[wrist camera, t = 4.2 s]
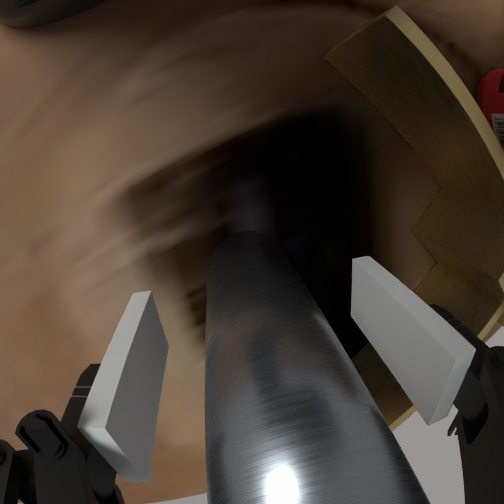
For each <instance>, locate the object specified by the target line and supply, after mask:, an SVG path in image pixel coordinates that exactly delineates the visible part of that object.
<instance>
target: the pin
mask: <svg viewBox="0 0 504 504" xmlns="http://www.w3.org/2000/svg"><path fill="white" fill-rule="evenodd" d="M205 441H206V476H207V499H208V504H430V502H429V500H428V498H427V496H426V494H425V492H424V490H423V488H422V486H421V484H420V483H419V481H418V479H417V477H416V475H415V474H414V471H413V470H412V468H411V466H410V464H409V462H408V460H407V458H406V457H405V455H404V453H403V451H402V449H401V447H400V446H399V444H398V442H397V440H396V438H395V437H394V435H393V433H392V431H391V429H390V428H389V426H388V424H387V422H386V421H385V419H384V417H383V415H382V413H381V412H380V410H379V408H378V406H377V405H376V403H375V401H374V399H373V398H372V396H371V394H370V392H369V391H368V389H367V387H366V386H365V384H364V382H363V380H362V379H361V377H360V375H359V373H358V372H357V370H356V368H355V367H354V365H353V363H352V362H351V360H350V358H349V356H348V355H347V353H346V351H345V350H344V348H343V346H342V345H341V343H340V341H339V340H338V338H337V336H336V335H335V333H334V331H333V330H332V328H331V326H330V325H329V323H328V321H327V320H326V318H325V316H324V315H323V313H322V311H321V310H320V308H319V307H318V305H317V303H316V302H315V300H314V298H313V297H312V295H311V294H310V292H309V290H308V289H307V287H306V285H305V284H304V282H303V281H302V279H301V277H300V276H299V274H298V273H297V271H296V269H295V268H294V266H293V265H292V263H291V261H290V260H289V258H288V257H287V255H286V253H285V252H284V250H283V249H282V247H281V246H280V245H279V243H278V242H277V241H276V240H274V239H273V238H272V237H270V236H268V235H266V234H264V233H260V232H255V231H243V232H238V233H235V234H232V235H230V236H228V237H227V238H225V239H224V240H222V241H221V242H220V243H219V244H218V245H217V246H216V248H215V249H214V251H213V252H212V254H211V256H210V260H209V264H208V281H207V307H206V346H205Z"/></svg>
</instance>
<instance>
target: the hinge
mask: <svg viewBox="0 0 504 504" xmlns="http://www.w3.org/2000/svg"><path fill="white" fill-rule="evenodd" d="M323 58H324V59H325V60H326V61H327V62H329V63H330V64H331V65H332V66H333V67H334V68H335V69H337V70H338V71H339V72H340V73H341V74H342V75H343V76H344V77H345V78H346V79H348V80H349V81H350V82H351V83H352V84H353V85H354V86H355V87H356V88H357V89H358V90H359V91H360V92H361V93H362V94H363V95H364V96H365V97H366V98H367V99H368V100H369V101H370V102H371V103H372V104H373V105H374V106H375V107H376V108H377V109H378V110H379V111H380V112H381V113H382V114H383V115H384V117H385V118H386V119H387V120H388V121H389V122H390V123H391V124H392V125H393V126H394V128H395V129H396V130H397V131H398V132H399V133H400V134H401V136H402V137H403V138H404V139H405V140H406V142H407V143H408V144H409V145H410V146H411V148H412V149H413V150H414V151H415V152H416V154H417V155H418V156H419V158H420V159H421V160H422V161H423V163H424V164H425V165H426V167H427V168H428V169H429V171H430V172H431V173H432V175H433V176H434V177H435V179H436V180H437V181H438V183H439V184H440V186H441V187H442V189H441V190H440V192H439V193H438V195H437V196H436V198H435V199H434V200H433V202H432V203H431V205H430V206H429V208H428V209H427V210H426V212H425V213H424V215H423V216H422V217H421V219H420V220H419V222H418V223H417V224H416V226H415V227H414V228H413V230H412V232H413V233H414V234H415V235H416V236H417V237H418V239H419V240H420V241H421V242H422V244H423V245H424V246H425V247H426V248H427V250H428V251H429V252H430V253H431V255H432V256H433V257H434V258H435V260H436V261H437V262H436V264H435V265H434V266H433V268H432V269H431V270H430V272H429V273H428V274H427V276H426V277H425V278H424V279H423V281H422V282H421V283H420V284H419V286H418V287H417V288H416V289H415V291H414V292H413V293H415V294H416V295H417V296H418V297H419V298H420V299H422V300H423V301H424V302H425V303H426V304H427V305H431V304H435V305H438V306H440V307H442V308H444V309H446V310H447V311H449V312H450V313H451V314H452V315H453V316H455V319H458V320H459V321H460V322H461V323H463V326H464V325H465V326H466V327H467V328H468V329H469V330H470V331H472V332H473V333H474V334H475V335H476V336H477V337H478V338H479V339H480V340H483V339H484V337H485V336H486V335H487V334H488V332H489V331H490V330H491V328H492V327H493V326H494V324H495V323H496V322H497V321H498V322H499V323H500V324H502V325H503V326H504V145H500V144H499V142H498V140H497V138H496V136H495V134H494V132H493V130H492V129H491V127H490V125H489V123H488V121H487V120H486V118H485V116H484V115H483V113H482V111H481V110H480V108H479V106H478V105H477V103H476V102H475V100H474V98H473V97H472V95H471V94H470V92H469V91H468V89H467V88H466V86H465V85H464V83H463V82H462V81H461V79H460V78H459V76H458V75H457V74H456V72H455V71H454V70H453V68H452V67H451V66H450V64H449V63H448V62H447V60H446V59H445V58H444V57H443V55H442V54H441V53H440V52H439V50H438V49H437V48H436V47H435V46H434V44H433V43H432V42H431V41H430V40H429V39H428V37H427V36H426V35H425V34H424V33H423V32H422V31H421V30H420V28H419V27H418V26H417V25H416V24H415V23H414V22H413V21H412V20H411V19H410V18H409V17H408V16H407V15H406V14H405V13H404V12H403V11H402V10H401V9H400V8H399V7H398V6H397V5H395V6H393V7H392V8H390V9H389V10H387V11H385V12H384V13H382V14H381V15H379V16H378V17H376V18H375V19H373V20H371V21H370V22H368V23H367V24H365V25H364V26H362V27H361V28H360V29H358V30H357V31H355V32H354V33H352V34H351V35H349V36H348V37H347V38H345V39H344V40H342V41H341V42H340V43H338V44H337V45H336V46H334V47H333V48H332V49H331V50H330V51H329V52H328V53H327V54H326V55H325V56H324V57H323ZM351 362H352V363H353V365H354V367H355V368H356V370H357V372H358V373H359V375H360V377H361V379H362V380H363V382H364V384H365V386H366V387H367V389H368V391H369V392H370V394H371V396H372V398H373V399H374V401H375V403H376V405H377V406H378V408H379V410H380V412H381V413H382V415H383V417H384V419H385V421H386V422H387V424H388V426H389V428H390V429H391V431H393V430H394V429H395V428H397V427H398V426H399V425H400V424H401V423H403V422H404V421H405V420H406V419H407V418H409V417H410V416H411V415H412V414H413V413H414V412H415V411H416V410H417V409H416V407H415V406H414V404H413V403H412V402H411V400H410V399H409V397H408V396H407V394H406V393H405V391H404V390H403V388H402V387H401V385H400V384H399V383H398V381H397V380H396V378H395V377H394V375H393V374H392V373H391V371H390V370H389V368H388V367H387V365H386V364H385V363H384V361H383V360H382V358H381V357H380V356H379V354H378V353H377V351H376V350H375V349H374V347H373V346H372V344H371V343H370V342H369V343H368V344H367V345H366V346H365V347H364V348H363V349H362V350H361V351H360V352H359V353H358V354H357V355H356V356H355V357H354V358H353V359H352V360H351Z"/></svg>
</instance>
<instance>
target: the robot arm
mask: <svg viewBox="0 0 504 504" xmlns="http://www.w3.org/2000/svg"><path fill="white" fill-rule="evenodd" d="M101 1H103V0H0V23H1V24H4V25H7V26H10V27H31V26H37V25H42V24H46V23H50V22H53V21H56V20H59V19H62V18H65V17H68V16H70V15H73V14H75V13H78V12H80V11H82V10H84V9H87V8H89V7H91V6H93V5H95V4H97V3H99V2H101ZM351 317H352V318H353V320H354V321H355V322H356V324H357V325H358V326H359V328H360V329H361V331H362V332H363V333H364V335H365V336H366V337H367V339H368V340H369V342H370V343H371V344H372V346H373V347H374V349H375V350H376V351H377V353H378V354H379V356H380V357H381V358H382V360H383V361H384V363H385V364H386V365H387V367H388V368H389V370H390V371H391V373H392V374H393V375H394V377H395V378H396V380H397V381H398V383H399V384H400V385H401V387H402V388H403V390H404V391H405V393H406V394H407V396H408V397H409V399H410V400H411V402H412V403H413V404H414V406H415V407H416V409H417V410H418V412H419V413H420V414H421V416H422V418H423V419H424V421H425V422H426V424H427V425H431V424H433V423H435V422H437V421H439V420H441V419H443V418H445V417H446V416H447V415H448V413H449V411H450V409H451V407H452V405H453V404H454V405H455V407H456V408H457V409H458V413H457V415H456V417H455V418H454V420H453V422H452V424H451V426H450V427H449V429H448V436H451V434H452V432H453V431H454V429H455V427H456V428H457V430H456V432H455V435H458V440H459V446H460V454H461V460H462V469H463V479H464V491H465V504H504V347H503V346H495V347H491V348H489V347H488V346H487V345H486V344H485V343H484V342H483V341H482V340H480V339H479V338H478V337H477V336H476V335H475V334H474V333H473V332H472V331H470V330H469V329H468V328H467V327H466V326H465V325H464V326H463V323H461V322H460V321H459V320H458V319H455V316H453V315H452V314H451V313H450V312H449V311H447V310H446V309H444V308H442V307H440V306H438V305H435V304H431V305H427V304H426V303H425V302H424V301H423V300H422V299H420V298H419V297H418V296H417V295H416V294H415V293H413V292H412V291H411V290H410V289H409V288H408V287H406V286H405V285H404V284H403V283H402V282H400V281H399V280H398V279H397V278H396V277H394V276H393V275H392V274H391V273H390V272H388V271H387V270H386V269H385V268H383V267H382V266H381V265H380V264H378V263H377V262H376V261H375V260H373V259H372V258H371V257H370V256H365V257H359V258H354V259H352V298H351ZM168 348H169V346H168V343H167V340H166V337H165V334H164V331H163V328H162V325H161V322H160V318H159V315H158V312H157V309H156V305H155V302H154V299H153V295H152V292H151V291H145V292H138V293H133V295H132V297H131V299H130V301H129V303H128V305H127V307H126V309H125V311H124V314H123V316H122V318H121V320H120V322H119V324H118V327H117V329H116V331H115V333H114V335H113V338H112V340H111V342H110V344H109V347H108V349H107V351H106V354H105V356H104V358H103V361H102V363H101V364H90V365H89V366H88V368H87V369H86V370H85V371H84V372H83V373H82V374H81V376H80V378H79V380H78V382H77V384H76V388H75V389H74V391H73V393H72V397H71V398H70V400H69V403H68V405H67V407H66V410H65V412H64V415H63V417H62V420H61V422H60V421H59V420H58V419H57V418H56V416H55V415H54V414H53V413H52V412H50V411H47V410H35V411H33V412H31V413H28V414H27V415H26V416H25V417H23V418H22V419H21V421H20V422H19V424H18V425H17V428H16V432H15V434H16V435H17V436H18V437H19V439H20V440H21V441H22V442H23V443H24V444H25V445H26V446H27V447H28V448H29V449H27V450H19V451H15V449H14V448H13V447H12V446H11V445H10V444H9V443H8V442H7V441H4V440H0V504H18V499H19V500H20V501H21V502H23V503H24V504H125V502H124V500H123V497H122V494H121V491H120V489H119V488H118V486H117V485H116V484H115V478H116V473H117V474H118V475H119V476H120V477H121V478H122V479H123V480H124V481H125V482H139V483H150V473H151V463H152V454H153V446H154V438H155V430H156V423H157V415H158V408H159V402H160V395H161V389H162V382H163V376H164V370H165V365H166V359H167V353H168Z"/></svg>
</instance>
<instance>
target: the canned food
mask: <svg viewBox="0 0 504 504" xmlns="http://www.w3.org/2000/svg"><path fill="white" fill-rule="evenodd" d="M476 103H477V105H478V106H479V108H480V110H481V111H482V113H483V115H484V116H485V118H486V120H487V121H488V123H489V125H490V127H491V129H492V130H493V132H494V134H495V136H496V138H497V140H498V142H499V144H500V145H504V68H500V69H494V70H492V71H491V72H489V73H488V74H486V75H484V76H483V78H482V79H481V80H480V83H479V86H478V90H477V95H476Z"/></svg>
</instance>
